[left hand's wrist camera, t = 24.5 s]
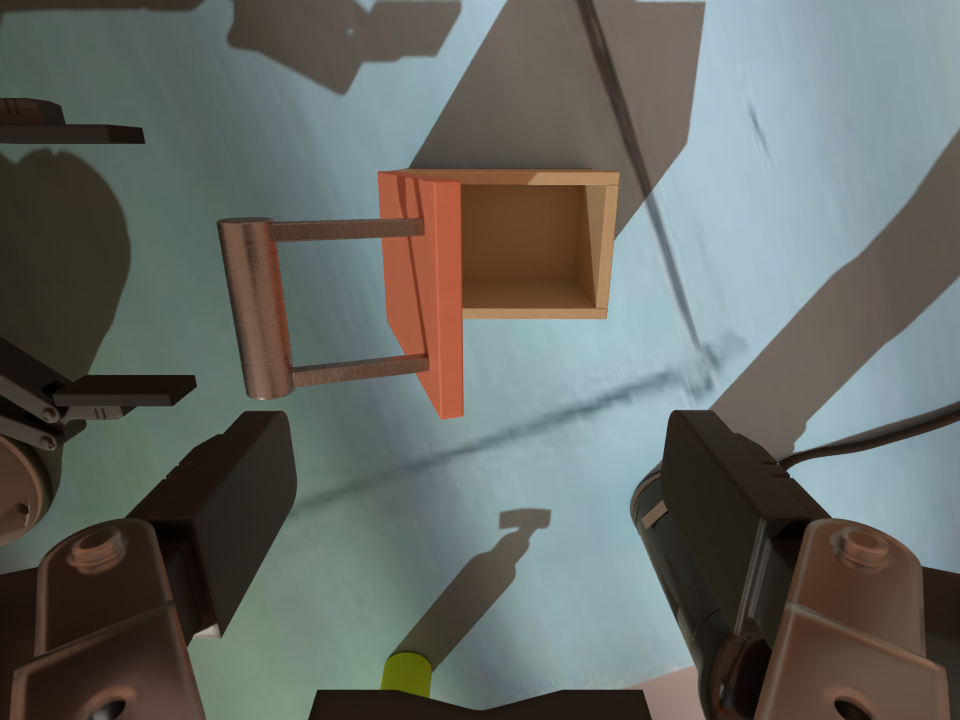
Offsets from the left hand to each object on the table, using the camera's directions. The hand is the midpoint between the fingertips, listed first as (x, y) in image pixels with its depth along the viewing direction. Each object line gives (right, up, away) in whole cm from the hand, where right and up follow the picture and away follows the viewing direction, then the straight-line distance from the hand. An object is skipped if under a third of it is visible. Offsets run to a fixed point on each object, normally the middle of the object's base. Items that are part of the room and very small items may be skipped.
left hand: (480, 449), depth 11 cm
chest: (+2, +13, +35) cm, 37 cm away
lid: (-3, +7, +18) cm, 19 cm away
